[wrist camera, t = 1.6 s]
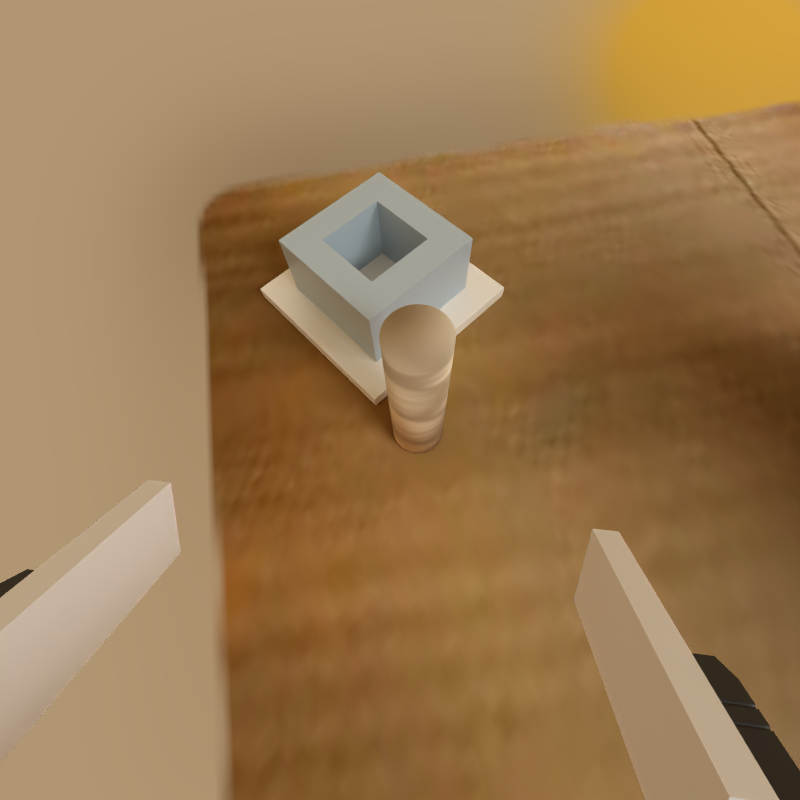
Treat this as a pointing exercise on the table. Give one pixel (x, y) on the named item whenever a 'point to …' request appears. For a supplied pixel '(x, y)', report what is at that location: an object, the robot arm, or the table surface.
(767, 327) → the table surface
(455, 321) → the socket block
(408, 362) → the birch peg
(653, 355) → the table surface
